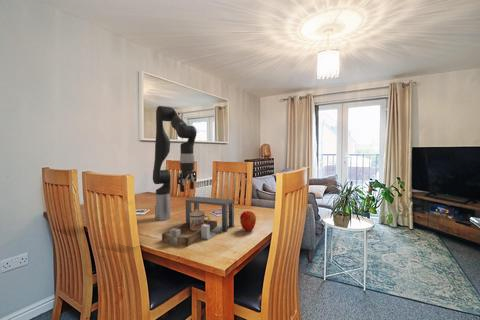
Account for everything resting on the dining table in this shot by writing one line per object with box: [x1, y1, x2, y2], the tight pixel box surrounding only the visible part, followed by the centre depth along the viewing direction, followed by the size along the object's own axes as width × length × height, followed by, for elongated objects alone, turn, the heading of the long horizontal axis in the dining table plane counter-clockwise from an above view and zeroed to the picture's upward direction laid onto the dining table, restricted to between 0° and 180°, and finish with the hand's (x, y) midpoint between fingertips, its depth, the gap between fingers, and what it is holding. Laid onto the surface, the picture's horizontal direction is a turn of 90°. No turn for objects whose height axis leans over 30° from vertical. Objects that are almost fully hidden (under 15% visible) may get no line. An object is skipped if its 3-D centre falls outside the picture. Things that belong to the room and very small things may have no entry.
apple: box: [239, 210, 257, 232], centre depth 134 cm, size 9×9×12 cm
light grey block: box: [199, 224, 216, 241], centre depth 125 cm, size 4×8×7 cm, turn 157°
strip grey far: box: [211, 224, 222, 234], centre depth 136 cm, size 4×11×1 cm, turn 157°
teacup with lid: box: [189, 208, 211, 232], centre depth 139 cm, size 12×9×12 cm
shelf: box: [185, 196, 235, 233], centre depth 142 cm, size 27×11×16 cm, turn 67°
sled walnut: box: [161, 218, 218, 247], centre depth 129 cm, size 16×30×7 cm, turn 157°
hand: (187, 190), depth 130 cm, fingers open, 8 cm apart
